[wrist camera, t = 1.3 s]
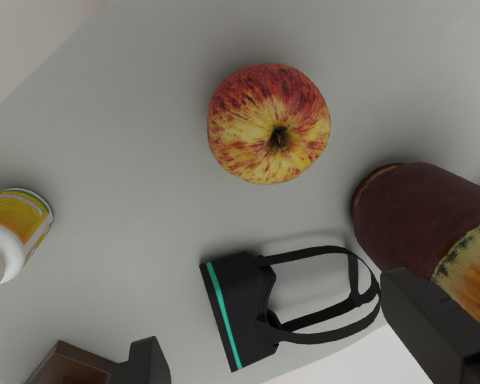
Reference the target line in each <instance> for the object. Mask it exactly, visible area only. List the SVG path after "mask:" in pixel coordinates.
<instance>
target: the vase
mask: <svg viewBox="0 0 480 384" xmlns="http://www.w3.org/2000/svg"><path fill="white" fill-rule="evenodd" d="M350 215H351V220H352V222H353V224H354V233H355V237H356V239H357V242H358V243H359V245H360V246H361V248H362V249H363V250H364V251H365V252H366V254H367V255H368V256H369V257H370V259H371V260H372V261H373V262H374V263H375V265H376V266H377V267H378V268H379V269H380V270H381V271H382V272H386V271H389V270H393V269H397V268H400V267H404V268H406V269H407V270H408V271H409V272H410V273H411V274H412V275H413V276H414V277H415V278H416V279H419V278H425V279H427V280H429V281H431V282H433V283H435V284H437V285H439V286H440V287H441V288H442V289H444V290H445V291H446V292H447V293H448V294H449V295H450V296H451V298H452V299H454V300H455V301H456V302H457V303H459V304H460V305H461V307H462V309H465V310H466V311H467V312H468V313H469V314H470V315H471V316H472V317H474V318H475V319H476V320H477V321H478V322H479V323H480V186H478V185H476V184H474V183H472V182H470V181H468V180H466V179H464V178H462V177H459V176H457V175H455V174H453V173H451V172H449V171H447V170H444V169H442V168H440V167H437V166H435V165H432V164H428V163H421V162H418V163H408V164H407V163H392V164H387V165H384V166H382V167H380V168H378V169H376V170H374V171H373V172H371V173H370V174H369V175H368V176H366V177H365V178H364V179H363V181H362V182H361V183H360V184H359V186H358V187H357V189H356V190H355V192H354V195H353V197H352V200H351V206H350Z"/></svg>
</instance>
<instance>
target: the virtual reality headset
mask: <svg viewBox="0 0 480 384" xmlns="http://www.w3.org/2000/svg"><path fill="white" fill-rule="evenodd" d="M327 253H344V254H348V260H349V280H350V288H351V293H350V294H349V298H347V299H346V300H344V301H342V302H340V303H338V304H336V305H333V306H331V307H329V308H326V309H324V310H321V311H318V312H315V313H312V314H309V315H306V316H303V317H300V318H297V319H294V320H291V321H288V322H286V323H283V324H281V323H280V321H279V319H278V317H277V316H276V314H275V313H274V312H272V311H271V310H269V309H267V304H268V299H269V296H270V293H271V290H272V288H273V286H274V283H275V281H276V274H275V273H274V271H273V269H272V268H271V266H270V265H273V264H278V263H283V262H289V261H294V260H298V259H303V258H308V257H312V256H316V255H321V254H327ZM357 258H358V259H360V260H361V261H362V262H363V263H364V264H365V262H364V261H363V260H362V259H361V258H359V257H358V256H357V255H355V254H354V253H352V252H351V251H349V250H347V249H346V248H343V247H338V246H319V247H311V248H306V249H301V250H297V251H292V252H287V253H282V254H277V255H271V256H266V257H264V256H263V255H259V256H257V257H254V256H253V255H251V254H250V253H248V252H242V253H239V254H235V255H232V256H228V257H225V258H222V259H218V260H215V261H211V262H208V263H204V264H201V265H199V267H200V270H201V274H202V277H203V280H204V284H205V287H206V290H207V294H208V297H209V300H210V303H211V307H212V310H213V313H214V317H215V320H216V323H217V327H218V330H219V333H220V337H221V340H222V343H223V346H224V350H225V353H226V356H227V360H228V363H229V366H230V369H231V372H235V371H237V370H239V369H241V368H244V367H246V366H248V365H250V364H252V363H255V362H257V361H259V360H261V359H264V358H266V357H268V356H270V355H272V354H274V353H275V352H276V350H277V348H278V345H279V342H281V341H287V342H292V343H296V344H309V345H311V344H321V343H326V342H331V341H336V340H340V339H342V338H345V337H348V336H350V335H353V334H355V333H358V332H359V331H361V330H363V329H365V328H367V327H368V326H369V325H370V324H371V323H373V322H374V320H375V318H376V316H377V315H378V313H379V309H380V305H381V292H380V287H379V283H378V282H377V280H376V278H375V276H374V274H373V272H372V271H371V270H370V268H369V267H368V266H367V265H366V264H365V265H366V266H367V267H368V269H369V271H370V273H371V286H370V288H369V289H368V290H367V291H366V292H365V293H364V294H361V295H360V294H359V292H358V261H357ZM376 294H378V296H379V301H378V303H377V305H376V307H375V308H374V310H373V311H372V312H371V313H370V314H369V315H368V316H366V317H365V318H363V319H361V320H359V321H357V322H355V323H353V324H350V325H348V326H345V327H342V328H339V329H337V330H332V331H327V332H321V333H314V334H298V333H292V332H293V331H296V330H298V329H301V328H304V327H307V326H310V325H313V324H316V323H319V322H322V321H325V320H328V319H331V318H334V317H336V316H340V315H342V314H344V313H347V312H349V311H351V310H352V309H354V308H356V307H360V306H361V305H362V304H364V303H369V302H370V301H372V300H373V299H374V297H375V296H376Z"/></svg>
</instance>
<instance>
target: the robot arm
mask: <svg viewBox="0 0 480 384" xmlns="http://www.w3.org/2000/svg"><path fill="white" fill-rule="evenodd" d="M380 287H381V308H382V312H383V314H384V317H385V319H386V320H387V322H388V324H389V325H390V326H391V327H392V329H393V330H394V332H395V333H396V334H397V335H398V337H399V338H400V340H401V341H402V342H403V344H404V345H405V346H406V348H407V349H408V350H409V352H410V353H411V354H412V355H413V357H414V358H415V359H416V361H417V362H418V363H419V365H420V366H421V368H422V369H423V370H424V372H425V373H426V374H427V375H428V377H429V378H430V380H431V381H432V382H433V384H480V323H479V322H478V321H477V320H476V319H475V318H474V317H472V316H471V315H470V314H469V313H468V312H467V311H466V310H465V309H462V307H461V305H460V304H459V303H457V302H456V301H455V300H454V299H452V298H451V296H450V295H449V294H448V293H447V292H446V291H445V290H444V289H442V288H441V287H440V286H439V285H437V284H435V283H433V282H431V281H429V280H427V279H425V278H419V279H416V278H415V277H414V276H413V275H412V274H411V273H410V272H409V271H408V270H407V269H406V268H404V267H400V268H397V269H393V270H389V271H386V272H382V273H381V275H380ZM108 384H171V375H170V370H169V367H168V364H167V362H166V359H165V357H164V355H163V352H162V350H161V348H160V345H159V343H158V340H157V338H156V337H155V336H152V337H148V338H145V339H141V340H138V341H134V342H132V343H131V346H130V352H129V359H128V361H125V362H122V363H118V365H117V366H116V368H115V370H114V372H113V373H112V375H111V377H110V379H109V382H108Z"/></svg>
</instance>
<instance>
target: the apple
mask: <svg viewBox="0 0 480 384" xmlns="http://www.w3.org/2000/svg"><path fill="white" fill-rule="evenodd" d="M330 125H331V123H330V115H329V111H328V108H327V105H326V103H325V100H324V98H323V96H322V95H321V93H320V91H319V90H318V88H317V87H316V86H315V85H314V83H313V82H312V81H311V80H310V79H309V78H308V77H306V76H305V75H304V74H303V73H301V72H300V71H299V70H297V69H295V68H293V67H290V66H287V65H283V64H273V63H267V64H256V65H251V66H246V67H243V68H241V69H239V70H237V71H236V72H234V73H233V74H232V75H230V76H229V77H228V78H227V79H226V80H225V81H223V82H222V83H221V85H220V86H219V87H218V88H217V90H216V91H215V93H214V95H213V97H212V99H211V102H210V106H209V110H208V119H207V133H208V142H209V147H210V149H211V152H212V154H213V156H214V157H215V159H216V160H217V161H218V163H219V164H220V165H221V166H222V167H223V168H224V169H225V170H226V171H227V172H229V173H230V174H232V175H234V176H236V177H238V178H241V179H243V180H245V181H247V182H250V183H254V184H261V185H267V184H277V183H282V182H286V181H289V180H292V179H294V178H295V177H297V176H298V175H300V174H301V173H303V172H304V171H305V170H306V169H307V168H308V167H309V166H311V165H312V164H313V163H314V162H315V161H316V160H317V159H318V158H319V156H320V155H321V154H322V152H323V151H324V149H325V147H326V145H327V143H328V139H329V135H330Z"/></svg>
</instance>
